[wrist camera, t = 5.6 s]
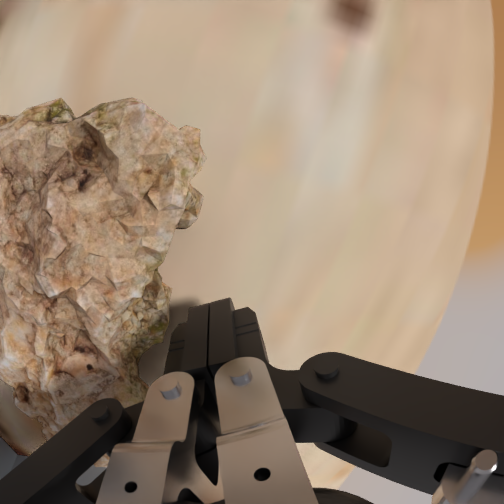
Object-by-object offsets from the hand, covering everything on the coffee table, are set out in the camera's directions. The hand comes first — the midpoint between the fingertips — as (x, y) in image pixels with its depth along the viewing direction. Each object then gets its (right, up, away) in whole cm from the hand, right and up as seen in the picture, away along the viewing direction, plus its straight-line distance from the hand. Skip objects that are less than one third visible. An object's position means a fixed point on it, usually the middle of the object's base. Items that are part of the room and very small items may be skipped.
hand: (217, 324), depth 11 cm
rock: (-5, 0, +2) cm, 5 cm away
